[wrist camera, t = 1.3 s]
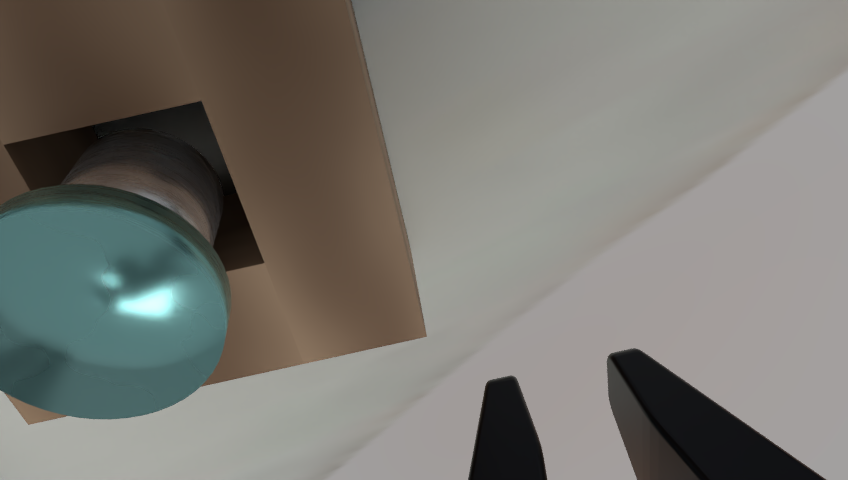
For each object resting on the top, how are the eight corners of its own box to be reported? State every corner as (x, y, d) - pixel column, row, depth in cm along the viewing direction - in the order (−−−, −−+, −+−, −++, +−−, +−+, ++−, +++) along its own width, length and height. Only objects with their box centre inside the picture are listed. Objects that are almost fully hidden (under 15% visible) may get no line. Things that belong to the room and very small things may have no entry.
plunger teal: (211, 80, 16) (165, 183, 11) (276, 253, 18) (259, 389, 14) (2, 126, 16) (-123, 247, 11) (98, 292, 18) (26, 440, 14)
